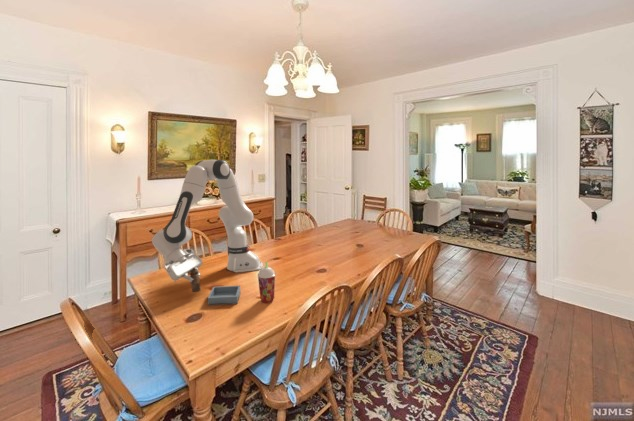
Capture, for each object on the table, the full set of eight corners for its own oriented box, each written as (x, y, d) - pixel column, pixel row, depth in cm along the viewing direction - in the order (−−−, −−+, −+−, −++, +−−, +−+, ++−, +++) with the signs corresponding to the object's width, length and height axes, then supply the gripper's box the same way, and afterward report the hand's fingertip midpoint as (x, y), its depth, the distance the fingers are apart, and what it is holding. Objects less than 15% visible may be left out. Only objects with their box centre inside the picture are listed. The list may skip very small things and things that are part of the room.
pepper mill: (201, 288, 160) (199, 266, 158) (199, 291, 156) (197, 269, 154) (193, 288, 159) (190, 266, 157) (190, 292, 156) (188, 269, 153)
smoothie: (276, 296, 159) (275, 258, 155) (275, 304, 150) (274, 264, 147) (260, 296, 158) (258, 259, 155) (257, 304, 150) (256, 265, 146)
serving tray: (240, 292, 163) (240, 285, 163) (237, 303, 151) (237, 296, 150) (213, 293, 162) (213, 286, 161) (208, 305, 149) (207, 298, 149)
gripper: (165, 261, 146) (185, 283, 145) (193, 248, 165) (211, 267, 165) (158, 269, 148) (178, 291, 148) (187, 255, 167) (204, 274, 167)
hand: (196, 278), depth 156 cm, fingers closed on pepper mill, 4 cm apart
